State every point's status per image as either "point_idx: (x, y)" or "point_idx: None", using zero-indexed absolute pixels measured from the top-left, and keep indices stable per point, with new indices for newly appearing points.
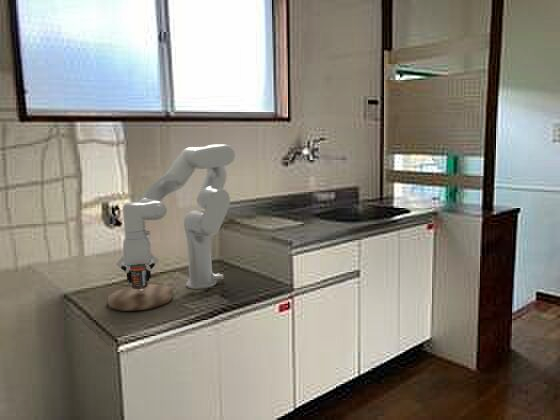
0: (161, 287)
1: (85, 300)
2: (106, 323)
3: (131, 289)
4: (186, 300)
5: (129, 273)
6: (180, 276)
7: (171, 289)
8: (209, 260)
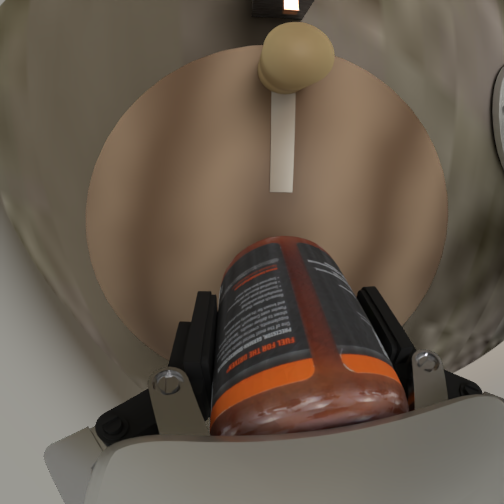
0: (410, 169)
1: (4, 154)
2: None
3: (205, 129)
4: (446, 295)
5: (208, 414)
6: None
7: (443, 234)
8: None
